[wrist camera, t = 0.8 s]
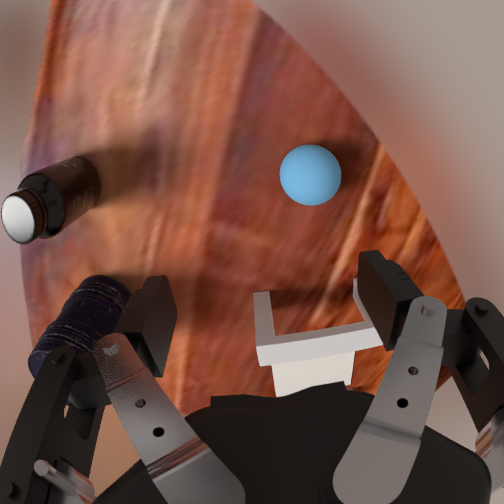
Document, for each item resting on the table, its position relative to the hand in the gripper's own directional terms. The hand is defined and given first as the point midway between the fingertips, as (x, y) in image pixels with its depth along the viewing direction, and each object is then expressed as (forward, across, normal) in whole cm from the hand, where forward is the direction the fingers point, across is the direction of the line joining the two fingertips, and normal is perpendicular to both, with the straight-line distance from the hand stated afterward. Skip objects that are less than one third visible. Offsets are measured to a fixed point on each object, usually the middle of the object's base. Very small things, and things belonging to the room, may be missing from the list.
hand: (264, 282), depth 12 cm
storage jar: (+21, +22, +15) cm, 34 cm away
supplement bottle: (+22, +20, -2) cm, 30 cm away
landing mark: (+21, -6, +30) cm, 37 cm away
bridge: (+21, -6, +16) cm, 27 cm away
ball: (+18, -6, 0) cm, 19 cm away
